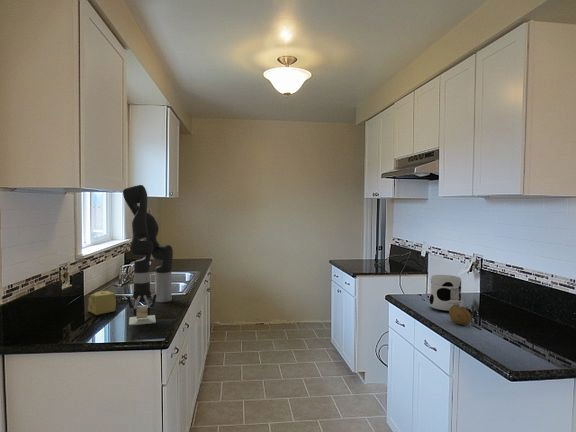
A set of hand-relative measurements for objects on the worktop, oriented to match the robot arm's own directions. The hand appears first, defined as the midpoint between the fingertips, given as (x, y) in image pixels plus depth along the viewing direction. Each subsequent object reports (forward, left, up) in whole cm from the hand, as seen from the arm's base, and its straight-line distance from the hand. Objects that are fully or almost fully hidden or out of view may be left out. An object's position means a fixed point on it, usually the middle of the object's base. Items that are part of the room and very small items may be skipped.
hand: (142, 315), depth 193 cm
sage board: (0, 0, -3) cm, 3 cm away
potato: (+58, +144, -3) cm, 155 cm away
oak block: (0, 0, -1) cm, 1 cm away
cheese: (-25, -20, -3) cm, 32 cm away
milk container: (+35, +156, -3) cm, 160 cm away
